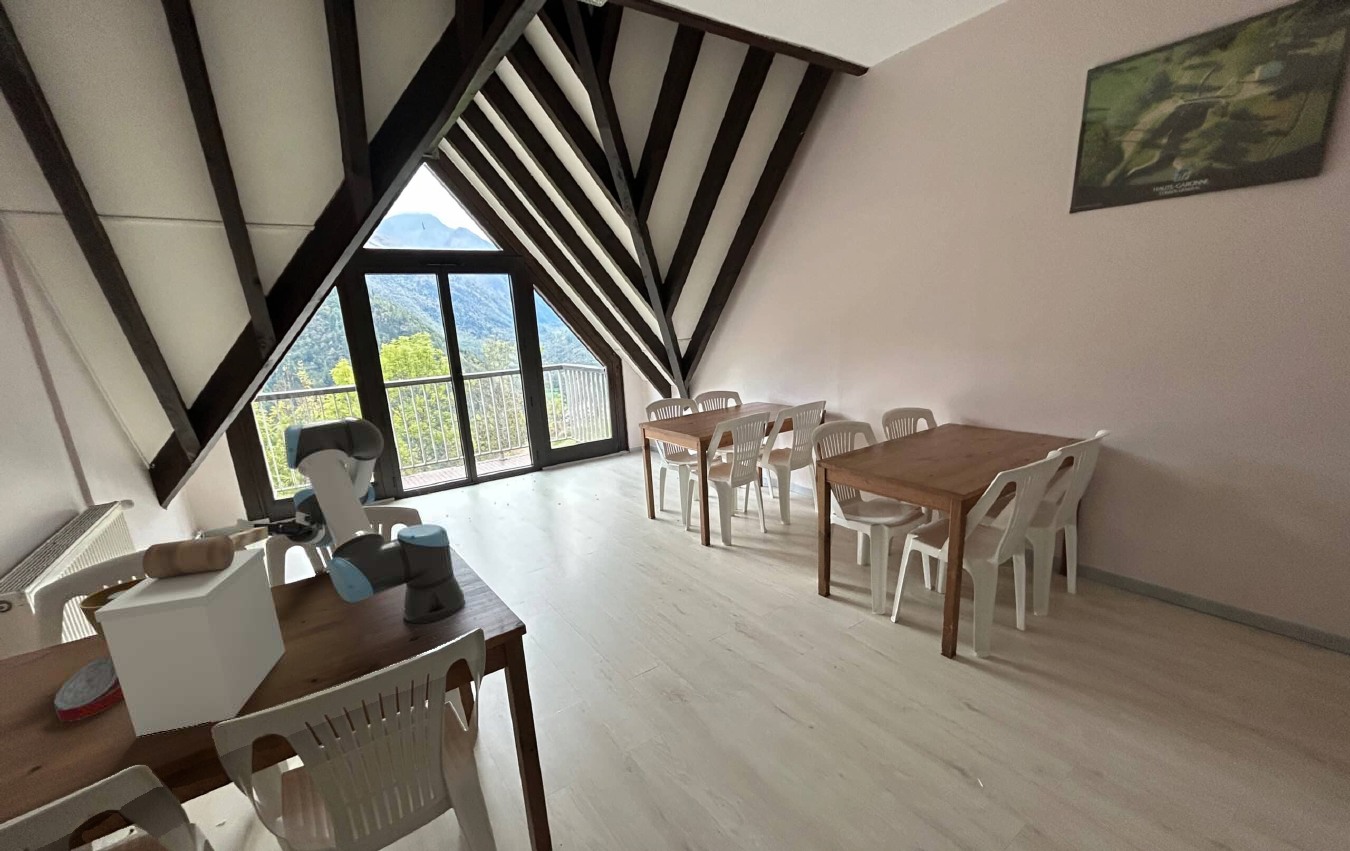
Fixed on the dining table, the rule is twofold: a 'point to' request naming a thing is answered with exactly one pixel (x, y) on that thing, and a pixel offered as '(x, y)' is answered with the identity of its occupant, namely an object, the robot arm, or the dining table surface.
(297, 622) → the dining table surface
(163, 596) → the pedestal
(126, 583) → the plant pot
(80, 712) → the canned food
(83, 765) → the dining table surface
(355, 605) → the dining table surface
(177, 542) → the mallet
